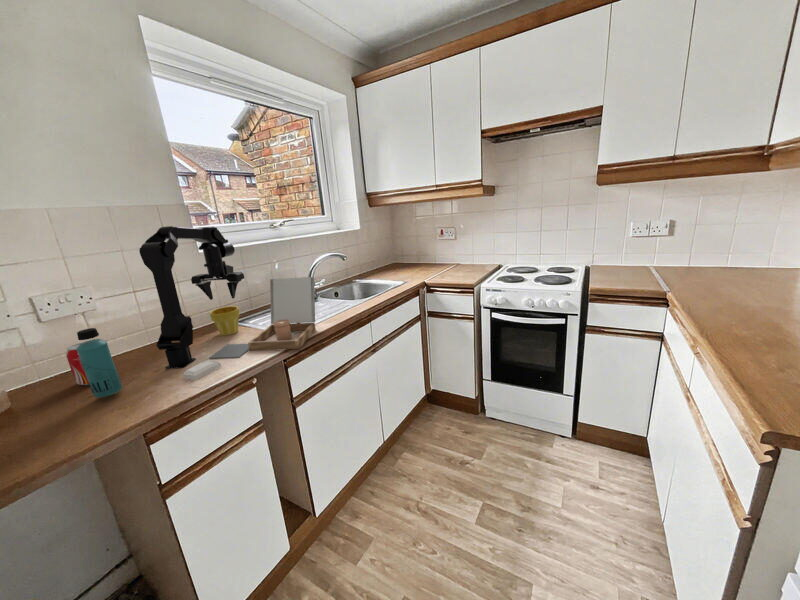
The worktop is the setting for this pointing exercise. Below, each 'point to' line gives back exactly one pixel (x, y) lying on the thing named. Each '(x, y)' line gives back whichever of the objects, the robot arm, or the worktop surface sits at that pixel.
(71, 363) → the soda can
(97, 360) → the beverage bottle
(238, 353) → the grey mat
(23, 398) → the worktop surface
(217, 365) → the soap bar
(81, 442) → the worktop surface
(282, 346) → the wooden tray
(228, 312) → the plant pot
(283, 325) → the clay pot
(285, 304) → the lid
